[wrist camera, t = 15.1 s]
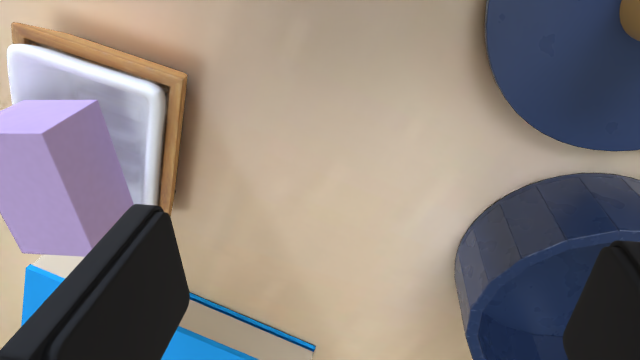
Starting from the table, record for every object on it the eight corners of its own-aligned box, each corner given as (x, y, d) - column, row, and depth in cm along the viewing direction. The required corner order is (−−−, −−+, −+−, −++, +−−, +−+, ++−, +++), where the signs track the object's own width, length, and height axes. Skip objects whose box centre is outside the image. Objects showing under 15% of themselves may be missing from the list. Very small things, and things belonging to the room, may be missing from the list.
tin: (468, 169, 27) (486, 225, 22) (736, 175, 25) (823, 238, 20) (445, 328, 35) (454, 396, 30) (647, 344, 33) (693, 420, 28)
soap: (23, 99, 23) (-46, 132, 20) (98, 99, 23) (41, 132, 19) (72, 208, 27) (22, 253, 24) (136, 211, 27) (95, 257, 23)
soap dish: (55, 9, 26) (-11, 26, 21) (207, 60, 26) (172, 86, 22) (65, 173, 32) (15, 210, 28) (186, 211, 33) (155, 254, 28)
